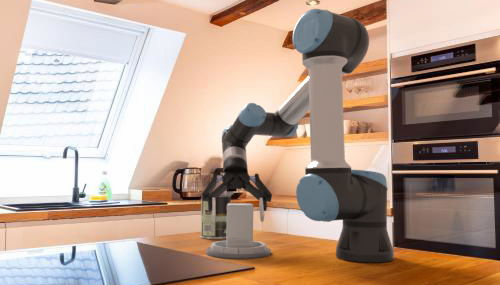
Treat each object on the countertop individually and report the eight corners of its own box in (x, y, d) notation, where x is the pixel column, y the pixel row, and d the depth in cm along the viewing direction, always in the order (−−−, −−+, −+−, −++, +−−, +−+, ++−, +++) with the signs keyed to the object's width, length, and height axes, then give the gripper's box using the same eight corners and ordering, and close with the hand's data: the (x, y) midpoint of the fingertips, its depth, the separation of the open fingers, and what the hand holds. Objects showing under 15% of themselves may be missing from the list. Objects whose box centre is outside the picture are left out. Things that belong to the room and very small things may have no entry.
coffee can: (231, 235, 173) (232, 195, 173) (229, 239, 162) (230, 196, 163) (202, 234, 173) (202, 194, 174) (198, 239, 162) (199, 196, 163)
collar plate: (276, 249, 143) (276, 241, 143) (263, 260, 126) (263, 250, 126) (217, 246, 147) (217, 238, 148) (196, 256, 130) (196, 247, 130)
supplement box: (253, 251, 133) (253, 204, 134) (225, 251, 133) (226, 204, 133) (252, 247, 140) (252, 202, 141) (226, 247, 140) (226, 202, 141)
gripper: (273, 173, 156) (280, 226, 141) (194, 172, 154) (193, 226, 138) (276, 156, 151) (284, 209, 136) (194, 155, 149) (193, 209, 133)
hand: (238, 218), depth 137 cm, fingers open, 13 cm apart
